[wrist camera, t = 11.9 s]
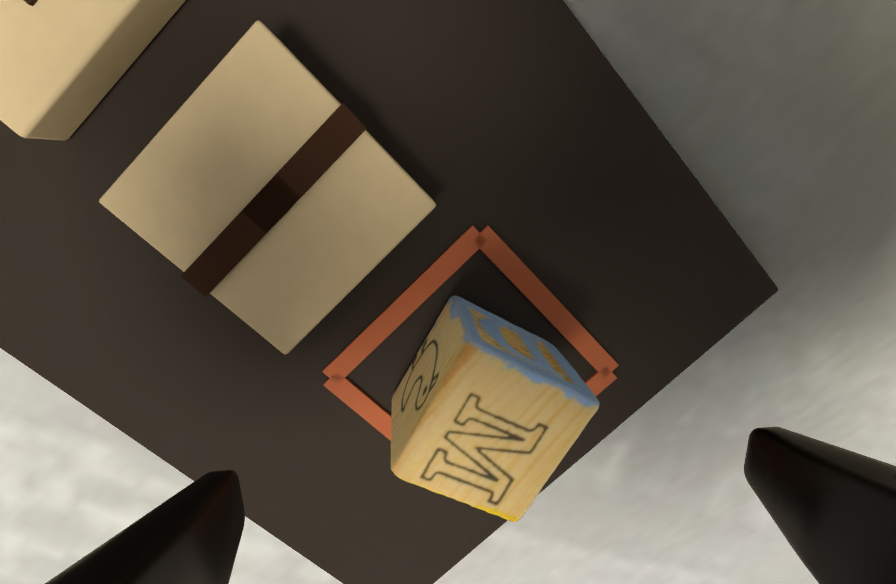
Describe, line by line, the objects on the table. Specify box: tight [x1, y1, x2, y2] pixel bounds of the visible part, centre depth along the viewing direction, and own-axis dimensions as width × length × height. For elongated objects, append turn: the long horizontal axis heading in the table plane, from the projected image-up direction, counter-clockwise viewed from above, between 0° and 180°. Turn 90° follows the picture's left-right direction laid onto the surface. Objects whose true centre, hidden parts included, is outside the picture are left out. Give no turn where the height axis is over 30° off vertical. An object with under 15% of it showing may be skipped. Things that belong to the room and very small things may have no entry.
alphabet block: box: [391, 296, 599, 522], centre depth 10 cm, size 3×3×3 cm
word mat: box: [0, 0, 778, 584], centre depth 10 cm, size 20×14×2 cm
